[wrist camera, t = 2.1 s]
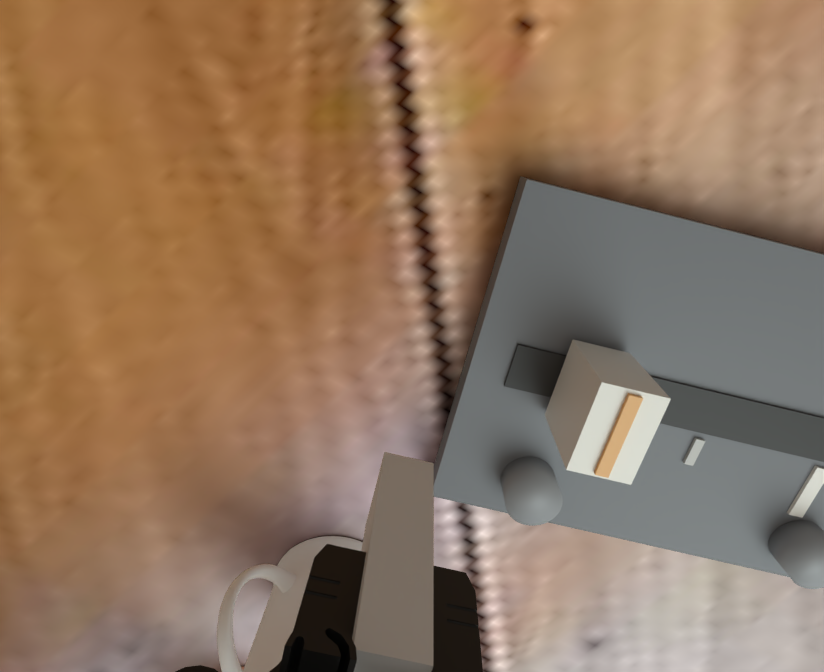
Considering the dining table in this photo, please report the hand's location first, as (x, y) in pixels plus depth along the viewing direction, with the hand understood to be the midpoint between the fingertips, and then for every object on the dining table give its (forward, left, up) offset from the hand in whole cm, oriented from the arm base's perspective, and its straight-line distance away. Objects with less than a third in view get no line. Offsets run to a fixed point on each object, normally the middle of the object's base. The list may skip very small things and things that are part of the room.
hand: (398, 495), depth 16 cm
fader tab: (0, +9, -12) cm, 15 cm away
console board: (0, +16, -14) cm, 21 cm away
